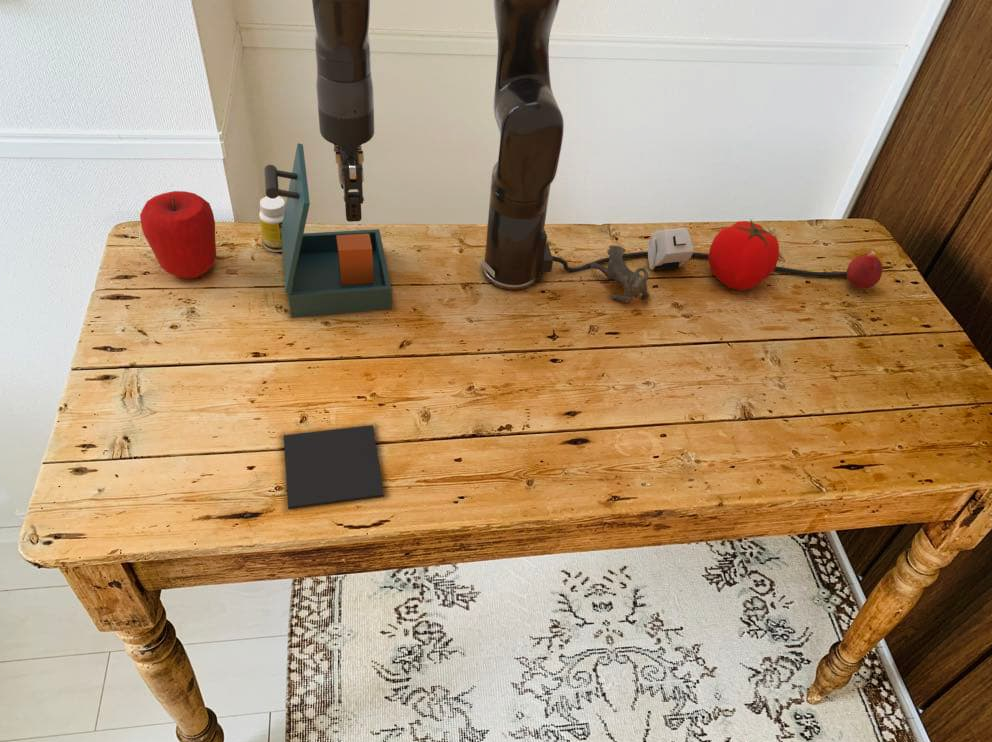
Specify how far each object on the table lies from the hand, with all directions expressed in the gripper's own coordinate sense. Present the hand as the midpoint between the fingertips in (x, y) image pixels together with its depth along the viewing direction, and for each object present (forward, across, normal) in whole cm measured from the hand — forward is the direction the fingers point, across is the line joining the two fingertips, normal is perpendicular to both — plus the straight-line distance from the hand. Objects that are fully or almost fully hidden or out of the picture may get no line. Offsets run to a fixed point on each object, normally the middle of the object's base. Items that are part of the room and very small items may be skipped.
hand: (351, 203), depth 122 cm
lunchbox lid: (+2, 0, +8) cm, 9 cm away
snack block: (+14, 0, 0) cm, 14 cm away
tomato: (+14, -7, -66) cm, 68 cm away
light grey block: (+15, -2, -54) cm, 56 cm away
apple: (+15, +6, +26) cm, 31 cm away
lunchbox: (+15, 0, +3) cm, 15 cm away
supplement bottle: (+15, +11, +12) cm, 22 cm away
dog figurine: (+15, -7, -44) cm, 47 cm away
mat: (+15, -38, +7) cm, 41 cm away
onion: (+14, -12, -88) cm, 90 cm away
